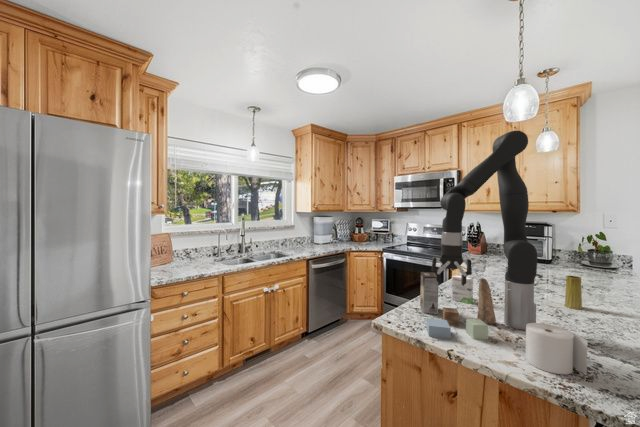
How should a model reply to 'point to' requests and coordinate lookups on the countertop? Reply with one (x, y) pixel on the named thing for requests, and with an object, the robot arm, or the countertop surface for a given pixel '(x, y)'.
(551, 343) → the toilet tissue
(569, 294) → the vase
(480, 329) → the sage cube
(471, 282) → the ink box
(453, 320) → the walnut cube
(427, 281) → the coffee box
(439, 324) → the base block
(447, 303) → the countertop surface
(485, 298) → the tan long rounded piece
